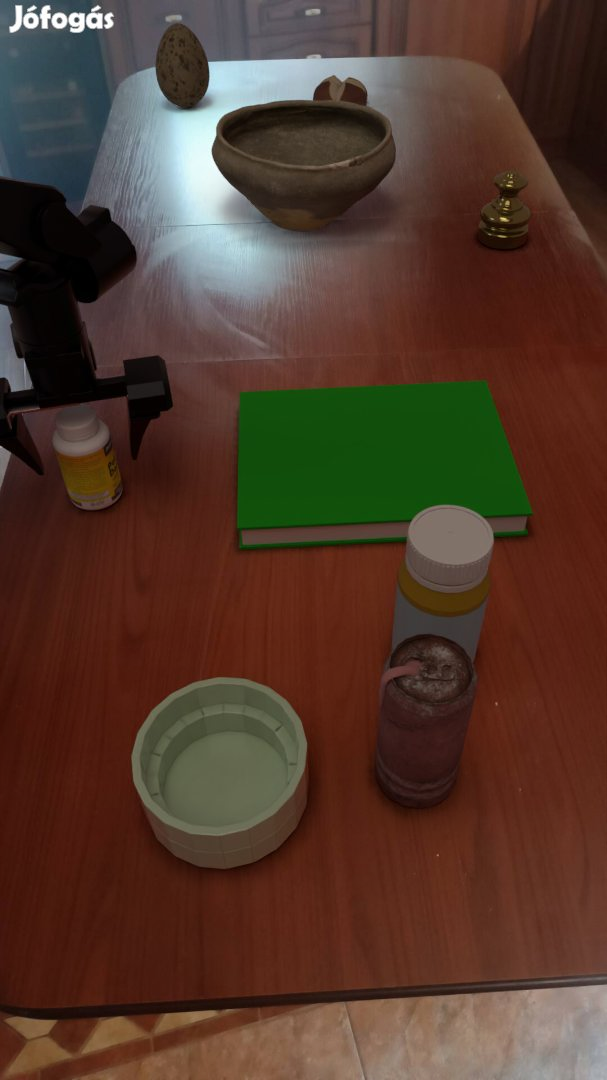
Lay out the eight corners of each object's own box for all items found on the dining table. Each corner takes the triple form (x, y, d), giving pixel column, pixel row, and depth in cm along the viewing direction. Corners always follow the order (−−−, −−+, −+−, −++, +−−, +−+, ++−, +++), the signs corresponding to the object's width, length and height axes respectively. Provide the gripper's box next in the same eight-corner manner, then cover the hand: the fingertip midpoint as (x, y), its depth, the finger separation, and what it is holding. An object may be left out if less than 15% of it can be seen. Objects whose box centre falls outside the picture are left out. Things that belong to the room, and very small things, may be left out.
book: (527, 535, 78) (533, 513, 76) (239, 549, 78) (237, 528, 76) (481, 399, 94) (485, 377, 92) (241, 410, 93) (239, 389, 91)
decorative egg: (184, 119, 162) (174, 34, 151) (150, 108, 167) (137, 24, 156) (223, 105, 167) (216, 22, 156) (189, 94, 172) (179, 13, 161)
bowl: (184, 215, 130) (172, 123, 120) (310, 168, 143) (309, 81, 133) (298, 276, 115) (295, 176, 105) (428, 217, 128) (436, 123, 118)
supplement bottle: (126, 507, 82) (106, 428, 75) (71, 517, 81) (45, 438, 74) (122, 473, 86) (103, 394, 79) (69, 481, 85) (45, 403, 78)
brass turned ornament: (502, 255, 118) (513, 187, 111) (466, 237, 123) (475, 170, 115) (536, 241, 121) (549, 173, 114) (500, 224, 125) (511, 158, 118)
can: (358, 754, 62) (364, 645, 52) (432, 727, 64) (451, 617, 54) (392, 824, 58) (404, 721, 48) (469, 794, 60) (497, 689, 50)
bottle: (483, 639, 70) (511, 516, 59) (459, 702, 65) (484, 581, 54) (407, 614, 72) (420, 490, 61) (378, 673, 67) (388, 552, 57)
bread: (307, 112, 163) (306, 85, 159) (324, 94, 170) (323, 68, 167) (360, 117, 160) (360, 90, 156) (374, 99, 168) (375, 72, 164)
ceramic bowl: (154, 890, 55) (139, 854, 51) (139, 737, 64) (125, 695, 59) (325, 849, 57) (325, 811, 53) (289, 706, 65) (286, 663, 61)
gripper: (148, 271, 76) (172, 404, 88) (-54, 297, 74) (-4, 431, 85) (160, 331, 69) (184, 469, 80) (-65, 363, 66) (-8, 501, 77)
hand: (88, 465), depth 81 cm, fingers open, 9 cm apart
